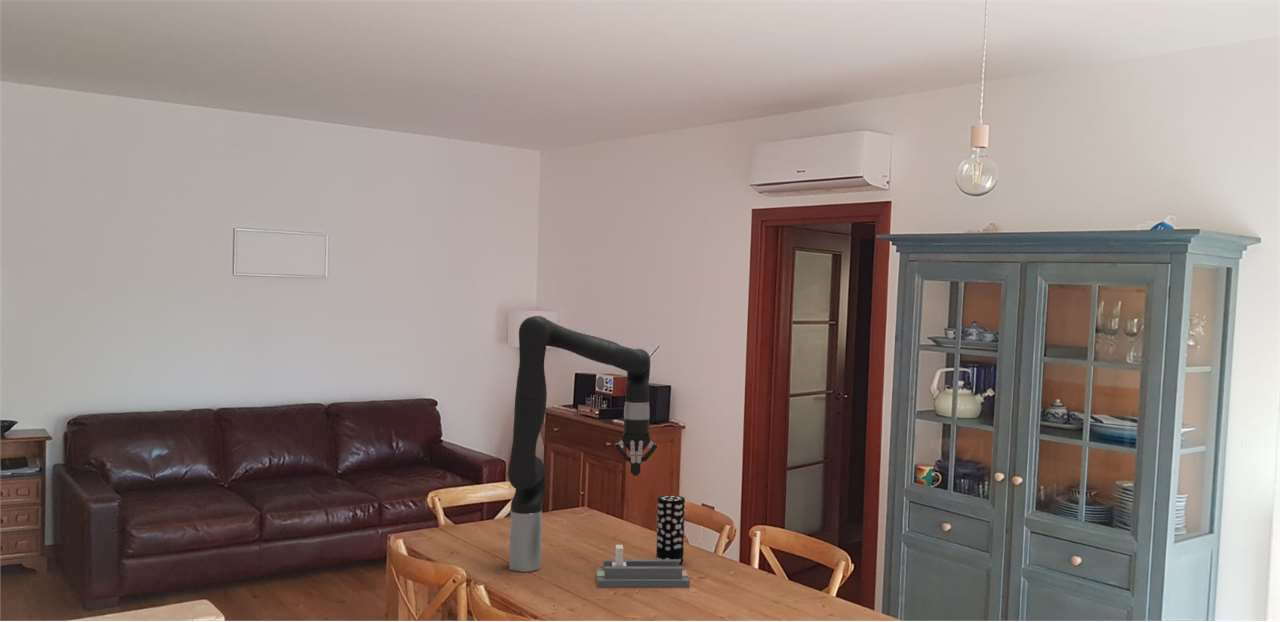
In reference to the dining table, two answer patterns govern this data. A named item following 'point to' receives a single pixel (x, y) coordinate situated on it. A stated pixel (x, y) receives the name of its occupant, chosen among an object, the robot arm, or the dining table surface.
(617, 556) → the breaker handle
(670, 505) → the spotted tube
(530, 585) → the dining table surface
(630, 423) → the robot arm
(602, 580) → the breaker panel
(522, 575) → the dining table surface
